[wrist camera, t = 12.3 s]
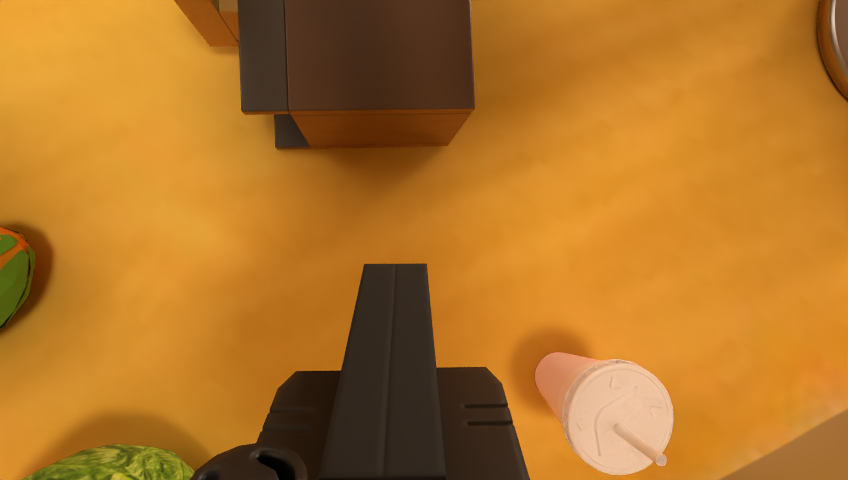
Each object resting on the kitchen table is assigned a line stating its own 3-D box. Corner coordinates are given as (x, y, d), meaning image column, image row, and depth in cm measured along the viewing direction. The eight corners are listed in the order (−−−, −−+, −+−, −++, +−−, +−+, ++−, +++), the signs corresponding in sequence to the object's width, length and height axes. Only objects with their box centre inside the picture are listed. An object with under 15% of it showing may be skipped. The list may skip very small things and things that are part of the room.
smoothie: (500, 388, 37) (577, 471, 23) (548, 317, 38) (651, 356, 24) (568, 435, 38) (684, 543, 24) (614, 364, 38) (753, 430, 24)
